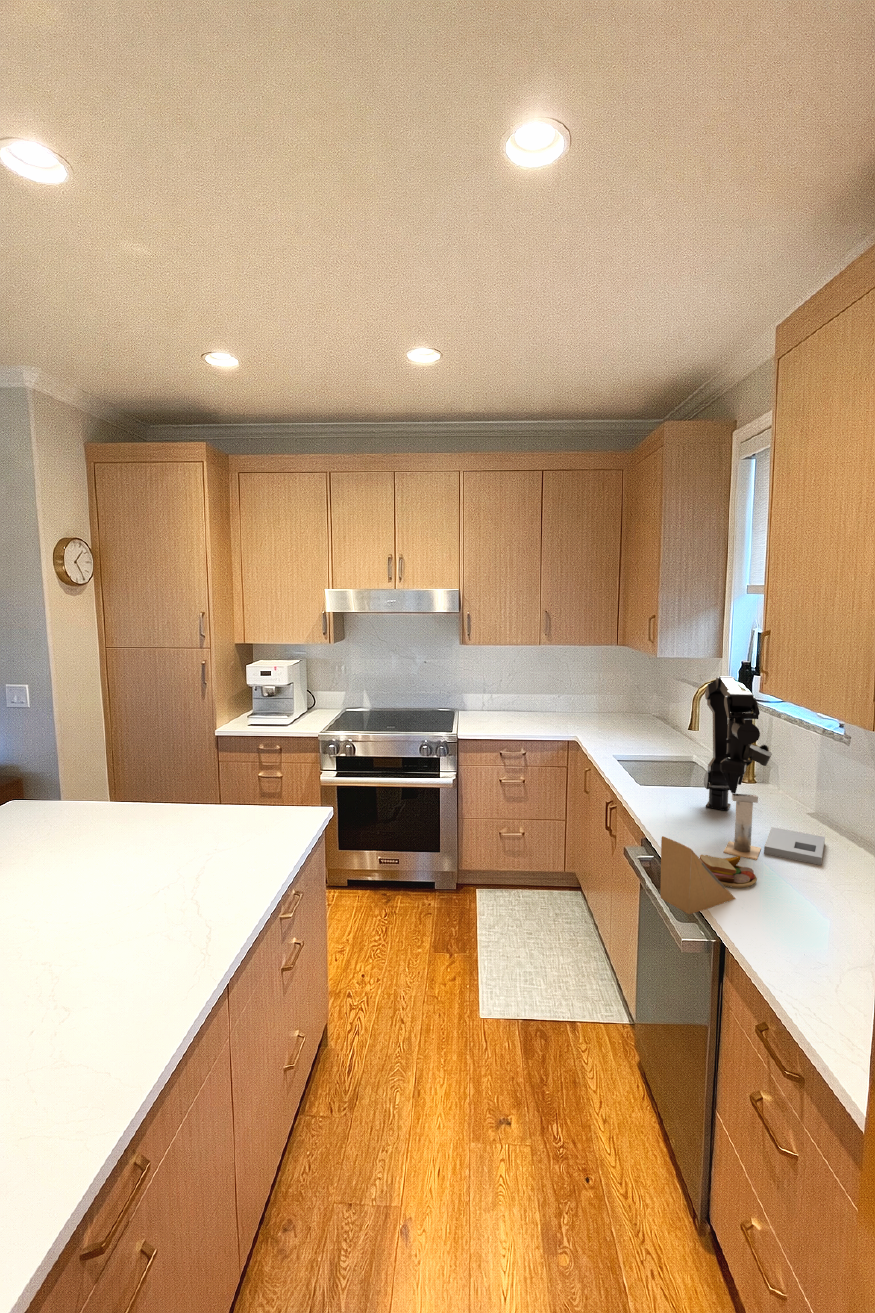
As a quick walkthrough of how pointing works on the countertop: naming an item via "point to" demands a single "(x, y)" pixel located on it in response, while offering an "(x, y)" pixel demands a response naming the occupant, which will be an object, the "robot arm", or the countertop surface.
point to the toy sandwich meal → (729, 871)
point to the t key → (743, 821)
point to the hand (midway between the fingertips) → (736, 788)
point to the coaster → (752, 854)
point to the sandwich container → (688, 879)
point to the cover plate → (795, 845)
